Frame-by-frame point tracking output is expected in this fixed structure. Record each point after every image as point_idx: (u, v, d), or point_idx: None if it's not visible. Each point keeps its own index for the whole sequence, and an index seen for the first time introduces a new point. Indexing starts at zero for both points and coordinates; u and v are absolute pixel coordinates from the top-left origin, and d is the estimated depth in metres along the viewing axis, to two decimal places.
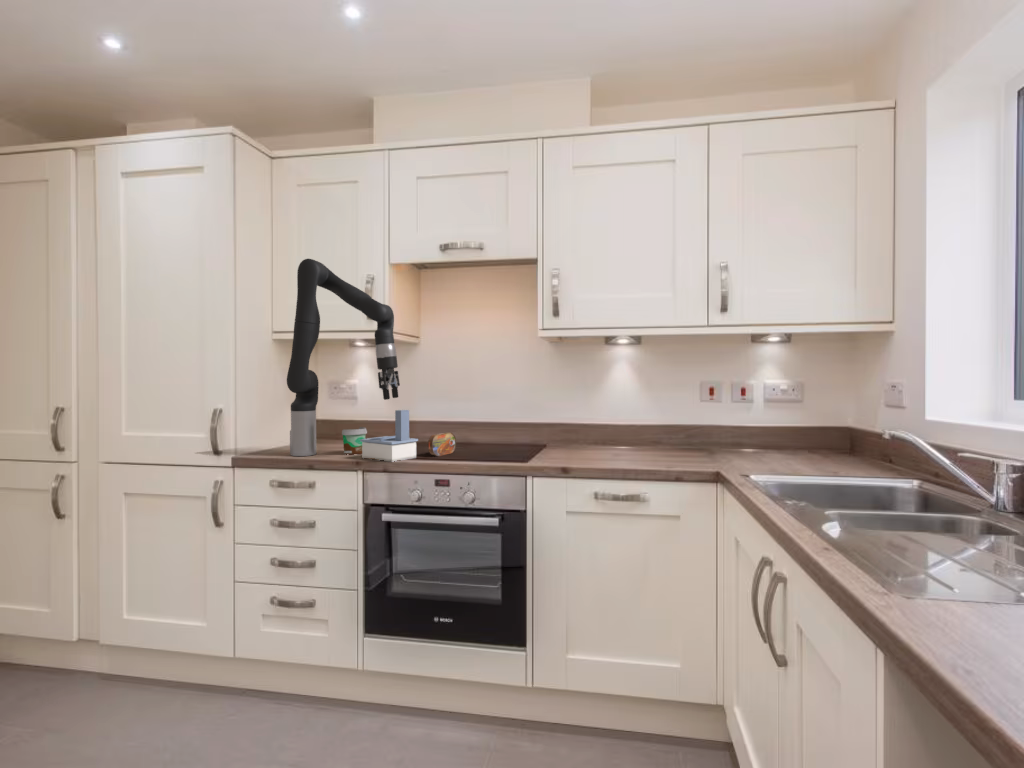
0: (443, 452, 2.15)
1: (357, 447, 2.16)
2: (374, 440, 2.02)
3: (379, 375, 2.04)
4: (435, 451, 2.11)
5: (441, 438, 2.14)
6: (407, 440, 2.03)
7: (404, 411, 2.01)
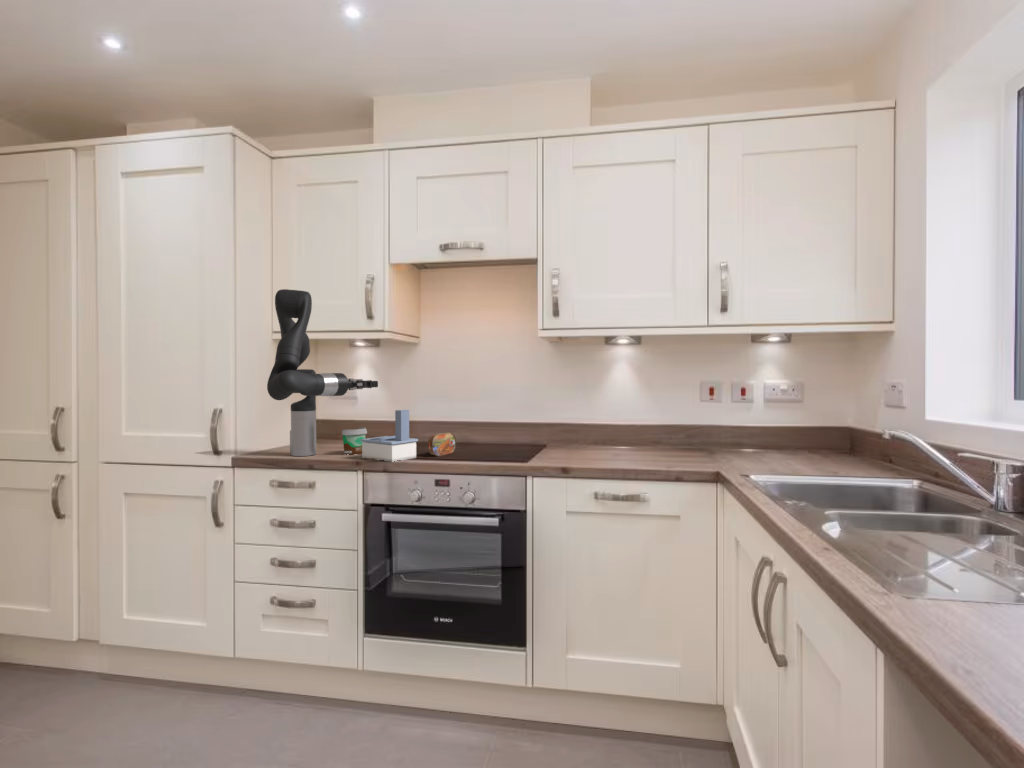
0: (443, 452, 2.15)
1: (357, 447, 2.16)
2: (374, 440, 2.02)
3: None
4: (435, 451, 2.11)
5: (441, 438, 2.14)
6: (407, 440, 2.03)
7: (404, 411, 2.01)
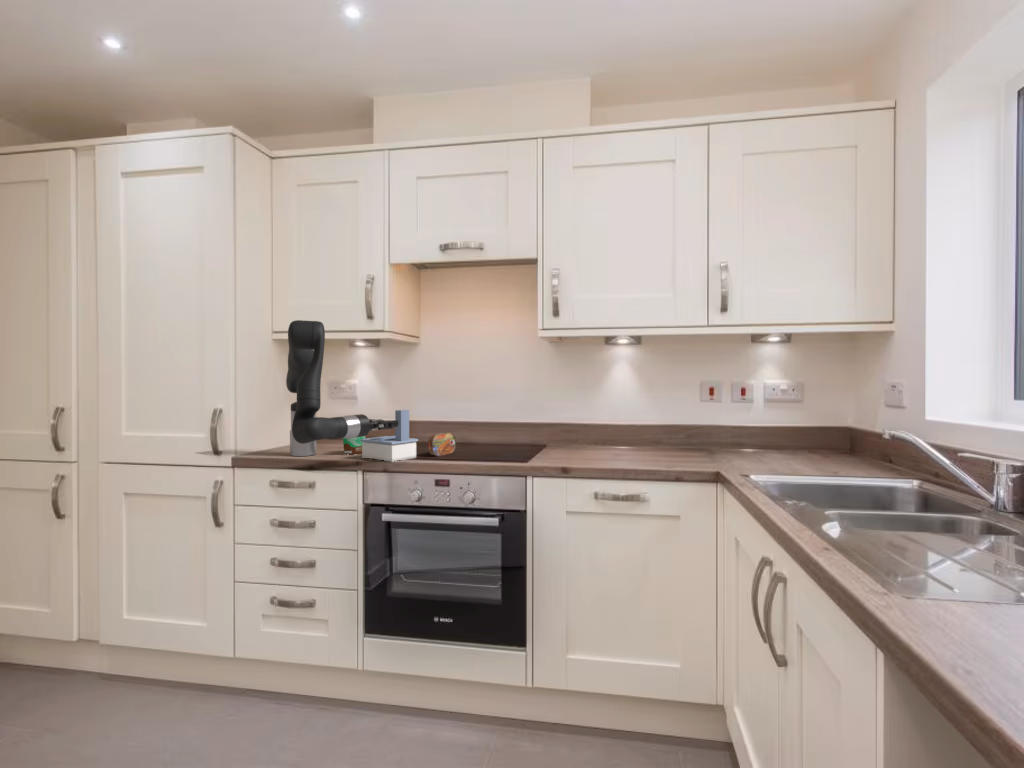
0: (443, 452, 2.15)
1: (357, 447, 2.16)
2: (374, 440, 2.02)
3: None
4: (435, 451, 2.11)
5: (441, 438, 2.14)
6: (407, 440, 2.03)
7: (404, 411, 2.01)
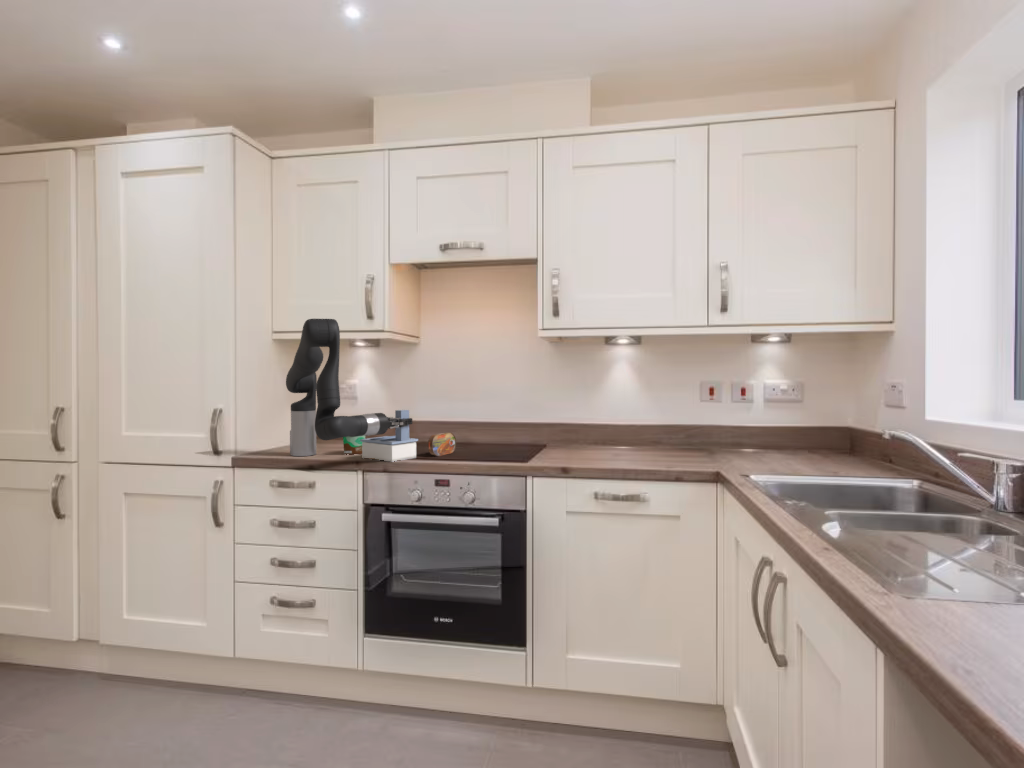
0: (443, 452, 2.15)
1: (357, 447, 2.16)
2: (374, 440, 2.02)
3: None
4: (435, 451, 2.11)
5: (441, 438, 2.14)
6: (407, 440, 2.03)
7: (404, 411, 2.01)
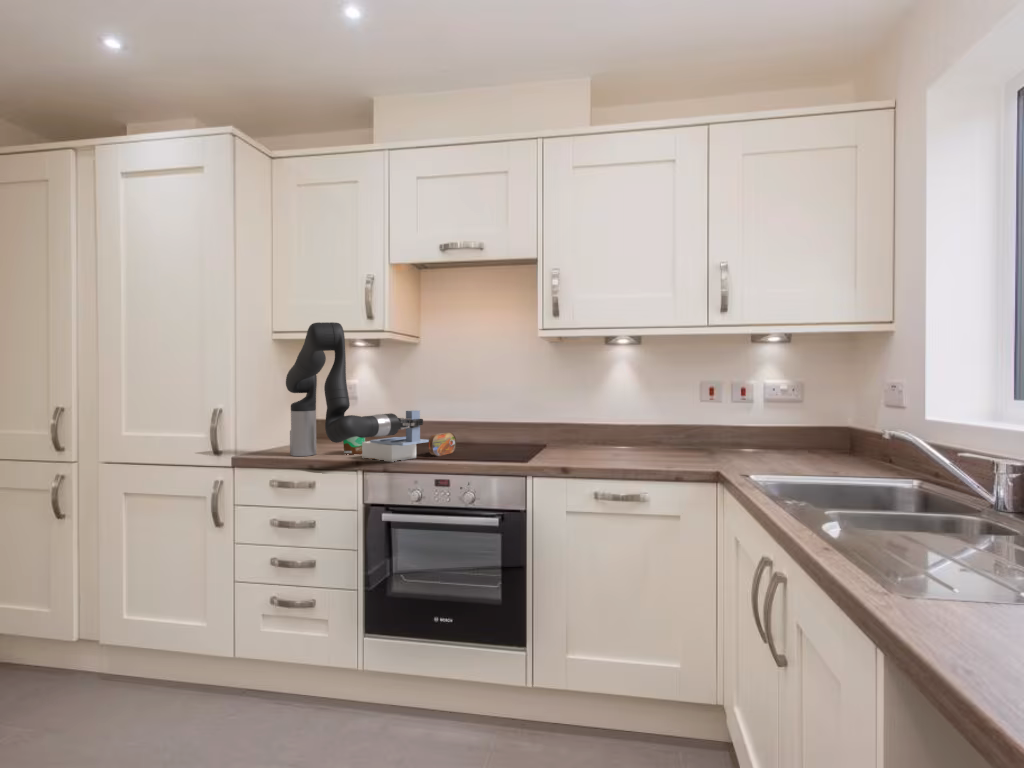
0: (443, 452, 2.15)
1: (357, 447, 2.16)
2: (384, 441, 1.99)
3: None
4: (435, 451, 2.11)
5: (441, 438, 2.14)
6: (418, 441, 2.00)
7: (415, 412, 1.98)
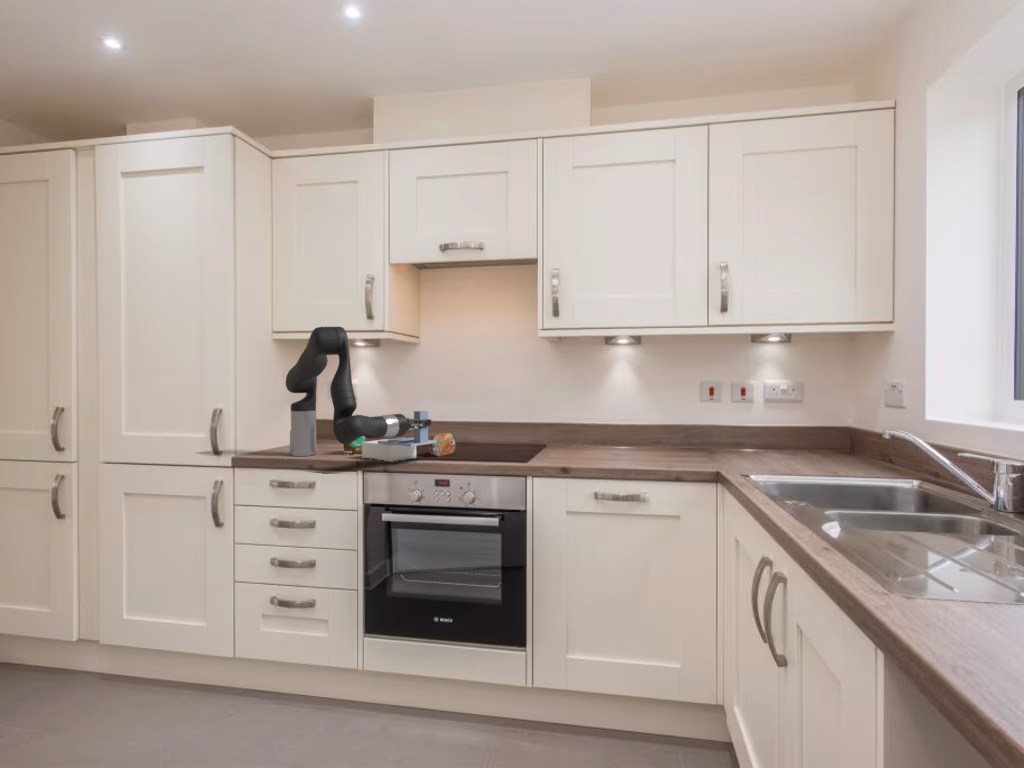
0: (443, 452, 2.15)
1: (357, 447, 2.16)
2: (392, 442, 1.97)
3: None
4: (435, 451, 2.11)
5: (441, 438, 2.14)
6: (426, 442, 1.97)
7: (423, 412, 1.96)
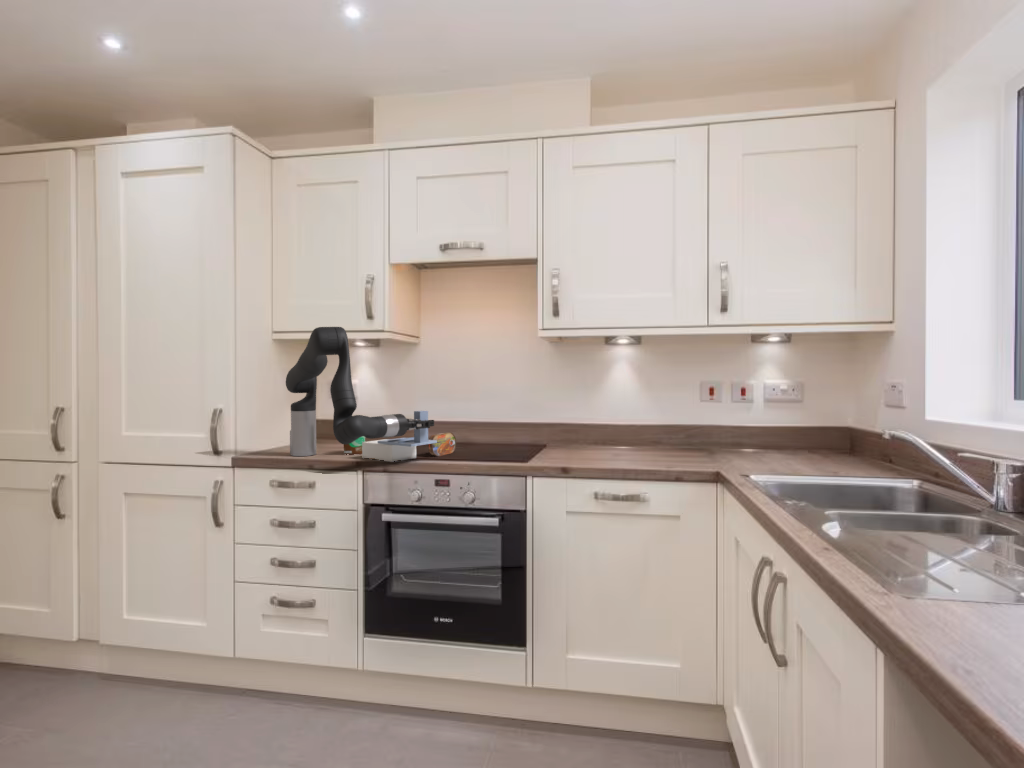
0: (443, 452, 2.15)
1: (357, 447, 2.16)
2: (392, 442, 1.97)
3: None
4: (435, 451, 2.11)
5: (441, 438, 2.14)
6: (426, 442, 1.97)
7: (423, 412, 1.96)
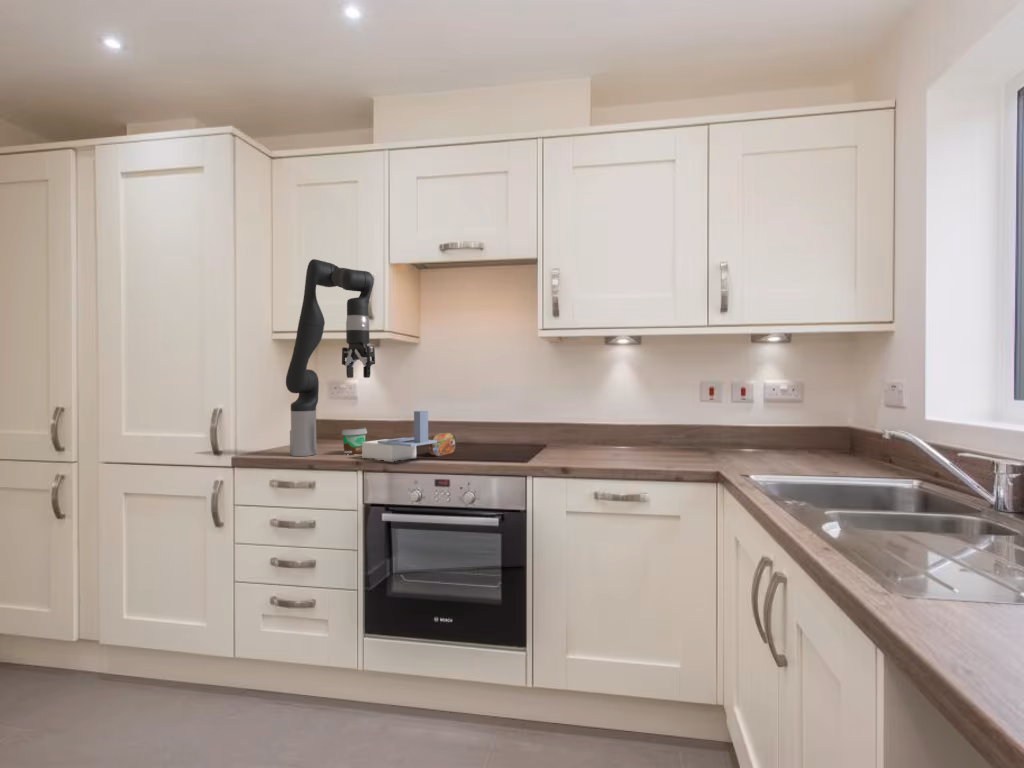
0: (443, 452, 2.15)
1: (357, 447, 2.16)
2: (392, 442, 1.97)
3: None
4: (435, 451, 2.11)
5: (441, 438, 2.14)
6: (426, 442, 1.97)
7: (423, 412, 1.96)
